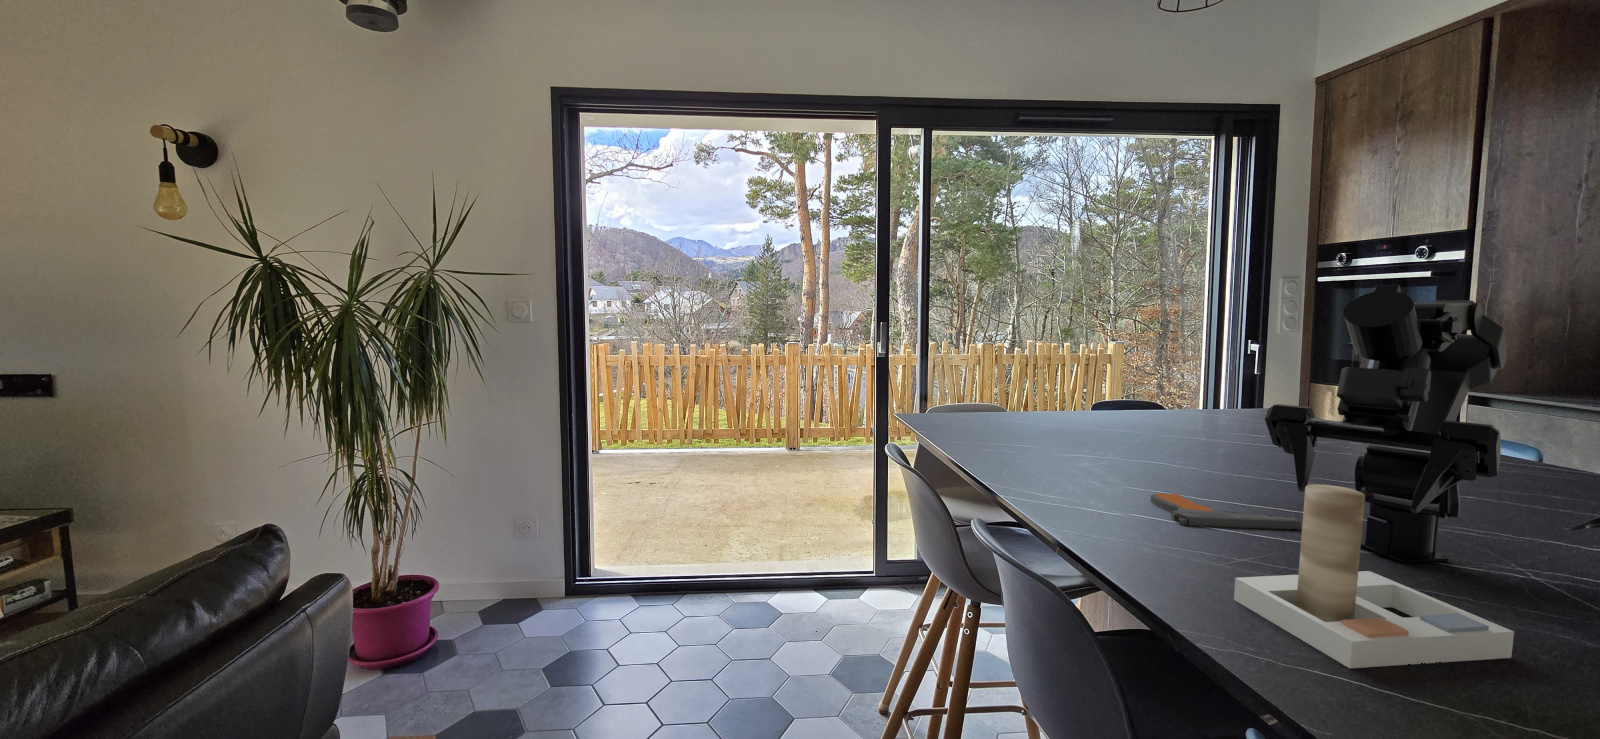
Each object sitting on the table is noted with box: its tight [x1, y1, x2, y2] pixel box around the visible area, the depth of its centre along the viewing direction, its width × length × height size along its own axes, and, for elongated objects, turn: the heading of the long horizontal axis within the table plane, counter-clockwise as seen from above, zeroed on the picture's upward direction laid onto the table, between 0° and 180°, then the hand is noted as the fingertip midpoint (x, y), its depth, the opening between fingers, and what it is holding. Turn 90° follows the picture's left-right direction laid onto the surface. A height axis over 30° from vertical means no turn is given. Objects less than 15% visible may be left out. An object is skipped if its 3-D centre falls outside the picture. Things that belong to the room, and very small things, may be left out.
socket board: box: [1233, 570, 1515, 669], centre depth 62 cm, size 16×13×3 cm
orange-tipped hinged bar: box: [1150, 492, 1302, 531], centre depth 95 cm, size 2×16×12 cm
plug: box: [1296, 484, 1366, 622], centre depth 61 cm, size 4×4×14 cm
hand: (1353, 499), depth 66 cm, fingers open, 9 cm apart
